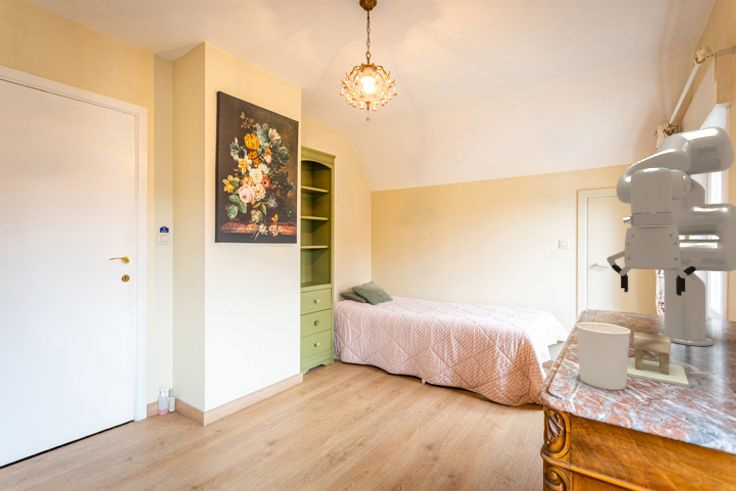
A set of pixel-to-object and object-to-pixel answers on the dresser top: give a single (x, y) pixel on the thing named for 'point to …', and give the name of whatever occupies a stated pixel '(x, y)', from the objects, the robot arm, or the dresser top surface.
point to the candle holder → (603, 354)
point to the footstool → (652, 349)
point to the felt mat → (658, 372)
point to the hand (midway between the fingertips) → (651, 293)
